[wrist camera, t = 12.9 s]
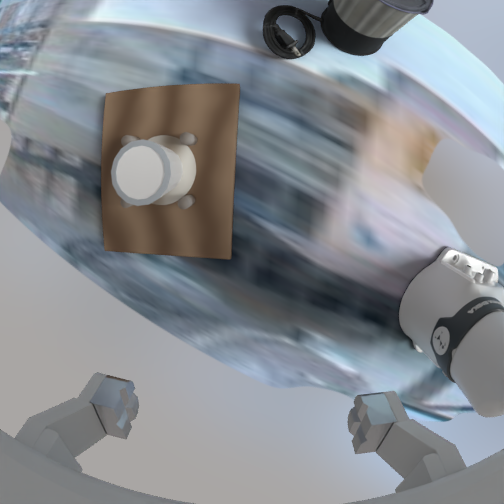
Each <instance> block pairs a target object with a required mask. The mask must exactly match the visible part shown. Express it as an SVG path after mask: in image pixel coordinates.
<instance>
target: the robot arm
mask: <svg viewBox="0 0 504 504" xmlns="http://www.w3.org/2000/svg"><path fill="white" fill-rule="evenodd" d="M453 256H454V258H453ZM399 321H400V325H401V328H402V330H403V331H404V333H405V334H406V335H407V336H409V337H410V338H411V339H412V341H413V345H414V347H415V349H416V350H417V351H418V352H424V353H425V354H426V355H427V356H428V358H429V359H430V360H431V361H432V362H433V363H434V364H435V365H436V366H437V367H439V368H441V369H442V371H443V373H444V374H445V376H446V377H448V378H449V379H450V380H451V381H452V382H454V383H456V384H457V385H458V387H459V388H460V389H461V391H462V392H463V394H464V395H465V397H466V398H467V399H468V401H469V402H470V404H471V405H472V407H473V408H474V410H475V411H476V412H477V413H478V414H479V415H481V416H483V417H496V416H501V415H503V414H504V288H503V287H502V286H501V285H500V284H498V269H497V268H496V267H495V266H493V265H491V264H489V263H487V262H485V261H482V260H480V259H478V258H475V257H473V256H470V255H468V254H466V253H463V252H461V251H458V250H456V249H453V248H451V247H447V248H445V249H444V250H443V251H442V253H441V254H440V255H439V257H438V258H437V259H436V261H435V262H433V263H432V264H431V265H429V266H428V267H426V268H425V269H423V270H422V271H421V272H420V273H419V274H418V275H417V276H416V277H415V278H414V279H413V280H412V282H411V283H410V285H409V286H408V288H407V290H406V291H405V293H404V296H403V298H402V301H401V305H400V309H399ZM134 389H135V387H134V384H133V382H132V381H129V380H125V379H121V378H117V377H113V376H110V375H105V374H101V373H98V372H97V373H95V374H94V375H93V376H92V378H91V379H90V380H89V382H88V384H87V385H86V387H85V388H84V390H83V391H82V392H81V394H80V395H79V397H78V398H72V399H70V400H68V401H66V402H64V403H61V404H59V405H57V406H55V407H52V408H50V409H48V410H46V411H44V412H41V413H39V414H36V415H34V416H32V417H29V419H28V420H27V421H26V423H25V424H24V425H23V427H22V428H21V430H20V431H19V433H18V434H17V435H16V437H15V438H13V437H11V436H10V435H8V434H7V433H5V432H4V431H2V430H1V429H0V504H194V503H188V502H182V501H176V500H171V499H166V498H162V497H157V496H153V495H149V494H145V493H141V492H137V491H134V490H130V489H126V488H124V487H120V486H117V485H114V484H111V483H108V482H105V481H102V480H100V479H97V478H94V477H92V476H89V475H86V474H84V473H81V472H82V468H81V466H80V464H79V463H78V462H77V461H76V459H75V457H76V456H78V455H79V454H81V453H82V452H84V451H85V450H87V449H88V448H90V447H91V446H92V445H94V444H95V443H97V442H98V441H99V440H101V439H102V438H104V437H105V436H106V434H107V435H111V436H115V437H119V438H123V439H127V437H128V435H129V432H130V430H131V428H132V426H131V423H130V422H131V421H132V420H134V419H135V418H136V416H137V413H138V408H139V402H138V397H137V396H136V395H135V394H134V393H133V391H134ZM354 404H355V407H353V408H352V409H351V410H350V412H349V415H348V428H349V432H350V433H351V434H352V435H354V438H353V440H352V443H353V447H354V451H355V454H361V453H367V452H376V453H377V454H378V455H379V456H380V457H381V458H382V459H383V460H385V462H387V463H388V464H389V465H390V466H391V467H392V468H393V469H394V470H395V471H396V472H398V473H399V474H400V475H401V476H402V477H403V478H404V480H403V481H402V482H401V483H400V484H399V486H398V487H397V488H396V489H395V491H396V493H394V494H390V495H386V496H382V497H377V498H372V499H368V500H362V501H357V502H352V503H345V504H504V449H502V450H501V451H499V452H497V453H495V454H493V455H491V456H490V457H488V458H486V459H484V460H482V461H480V462H478V463H476V464H474V465H471V466H469V467H466V465H465V463H464V461H463V459H462V457H461V455H460V453H459V451H458V449H457V448H456V446H455V445H454V444H453V443H451V442H449V441H448V440H446V439H444V438H443V437H441V436H439V435H438V434H436V433H434V432H433V431H431V430H429V429H428V428H426V427H425V426H423V425H421V424H420V423H418V422H417V421H415V420H413V419H411V420H410V419H409V417H408V415H407V413H406V411H405V409H404V407H403V405H402V403H401V401H400V399H399V397H398V396H397V394H396V392H395V391H389V392H382V393H372V394H363V395H357V396H356V397H355V400H354Z"/></svg>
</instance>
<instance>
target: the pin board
mask: <svg viewBox="0 0 504 504" xmlns="http://www.w3.org/2000/svg"><path fill="white" fill-rule="evenodd" d="M239 98H240V84H187V85H171V86H159V87H149V88H140V89H132V90H125V91H118V92H112V93H106V98H105V108H104V119H103V134H102V158H101V197H102V221H103V236H104V248H105V251H115V252H129V253H143V254H157V255H171V256H186V257H201V258H217V259H231V256H232V230H233V206H234V185H235V165H236V147H237V130H238V113H239ZM142 139H144V140H148V141H152V142H155V143H157V144H160V145H162V146H164V147H166V148H168V149H170V150H172V151H173V152H175V153H176V154H177V155H178V156H179V158H180V160H181V162H182V167H183V174H182V177H181V180H180V182H179V183H178V184H177V186H176V187H175V188H174V189H172V190H171V191H169V192H168V193H166V194H165V195H163V196H162V197H160V198H159V199H157V200H156V201H154V202H152V203H151V204H149V205H141V206H136V205H133V204H130V203H127V202H125V201H124V200H123V199H122V198H121V197H120V196H119V195H118V194H117V192H116V190H115V188H114V186H113V184H112V176H111V170H112V165H113V161H114V158H115V157H116V155H117V154H118V152H119V151H120V149H121V148H123V147H124V146H126V145H127V144H128V143H130V142H132V141H137V140H142Z"/></svg>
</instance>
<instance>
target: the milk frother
mask: <svg viewBox="0 0 504 504" xmlns="http://www.w3.org/2000/svg"><path fill="white" fill-rule="evenodd" d="M328 5H329V7H328V8H326V9H325V10H324V12H323V13H322V16H321V18H320V17H317V16H314V15H312V14H310V13H307V12H305V11H303V10H301V9H299V8H296V7H293V6H288V5H283V6H277V7H274V8H272V9H271V10H269V11H268V12H267V14H266V15H265V18H264V21H263V36H264V39H265V42H266V44H267V46H268V47H269V49H270V50H271V51H272V52H273V53H275V54H276V55H278V56H280V57H282V58H286V59H296V58H299V57H302V56H304V55H305V54H307V53H308V52H309V51H310V50H311V49H312V48H313V46H314V42H315V30H314V27H313V25H312V23H311V21H310V20H309V18H308V17H307V16H306V15H308V16H310V17H311V18H313V19H315V20H317V21H320V22H321V27H322V30H323V32H324V34H325V36H326V37H327V38H328V40H329V41H330V42H331V43H332V44H334V45H335V46H336V47H338V48H339V49H341V50H342V51H345V52H347V53H350V54H353V55H358V56H365V55H370V54H373V53H375V52H377V51H378V50H379V49H380V48H381V46H382V44H383V43H384V42H385V41H386V40H387V39H388V38H389V37H390V36H392V35H393V34H394V33H395V32H396V31H398V30H399V29H400V28H401V27H403V26H404V25H405V24H406V23H407V22H409V21H410V20H411V19H413V18H414V17H415V16H416V15H418V14H426V13H428V11H429V10H430V8H431V7H432V5H433V0H329V2H328ZM282 15H290V16H293V17H295V18H297V19H298V20H299V21H301V23H302V24H303V26H304V28H305V32H306V40H305V43H304V45H303V46H302V47H301V48H300V49H299V50H298V49H297V48H296V43H297V42H298V40H296V41H295V40H293V38H292V37H291V36H290V35H288V34H287V33H286V32H285V31H284V30H281V29H280V28H279V25H278V24H276V20H277V18H278V17H279V16H282ZM276 40H277V41H276Z"/></svg>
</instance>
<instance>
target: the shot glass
mask: <svg viewBox="0 0 504 504" xmlns="http://www.w3.org/2000/svg"><path fill="white" fill-rule="evenodd" d="M182 174H183V167H182V162H181V160H180V158H179V156H178V155H177V154H176V153H175V152H173V151H172V150H170V149H168V148H166V147H164V146H162V145H160V144H157V143H155V142H152V141H148V140H144V139H142V140H137V141H132V142H130V143H128V144H127V145H126V146H124V147H123V148H121V149H120V151H119V152H118V154H117V155H116V157H115V158H114V161H113V165H112V170H111V176H112V184H113V186H114V188H115V190H116V192H117V194H118V195H119V196H120V197H121V198H122V199H123V200H124V201H125V202H127V203H130V204H133V205H136V206H141V205H149V204H151V203H152V202H154V201H156V200H157V199H159V198H160V197H162V196H163V195H165V194H166V193H168V192H169V191H171V190H172V189H174V188H175V187H176V186H177V184H178V183H179V182H180V180H181V177H182Z"/></svg>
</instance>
